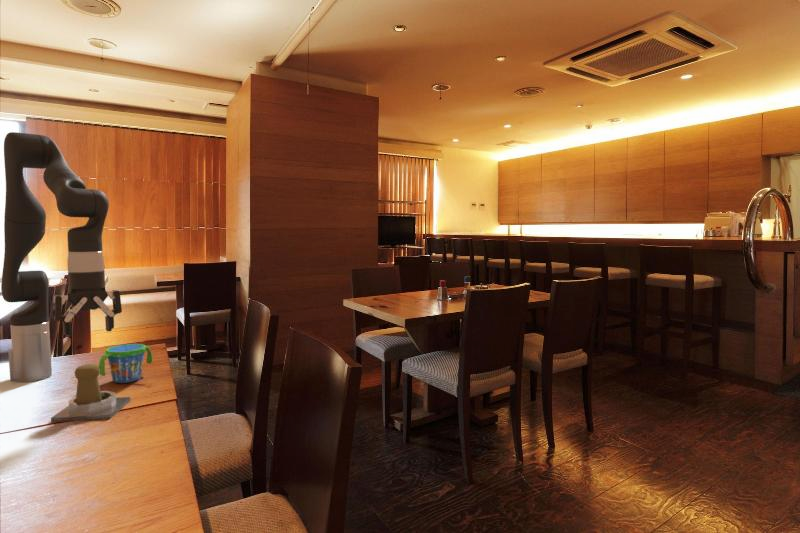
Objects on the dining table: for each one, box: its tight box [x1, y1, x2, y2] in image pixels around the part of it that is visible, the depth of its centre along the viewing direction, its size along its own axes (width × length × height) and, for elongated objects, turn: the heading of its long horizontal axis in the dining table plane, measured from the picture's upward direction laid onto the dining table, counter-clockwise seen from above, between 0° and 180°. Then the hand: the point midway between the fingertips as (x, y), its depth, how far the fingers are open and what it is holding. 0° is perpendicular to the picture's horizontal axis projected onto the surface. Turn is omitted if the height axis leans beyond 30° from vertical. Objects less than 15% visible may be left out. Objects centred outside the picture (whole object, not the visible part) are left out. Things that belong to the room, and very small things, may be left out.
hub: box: [50, 390, 132, 423], centre depth 117 cm, size 13×12×3 cm
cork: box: [74, 363, 102, 404], centre depth 116 cm, size 6×6×11 cm
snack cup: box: [98, 343, 153, 384], centre depth 140 cm, size 16×10×10 cm
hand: (89, 333), depth 115 cm, fingers open, 8 cm apart
